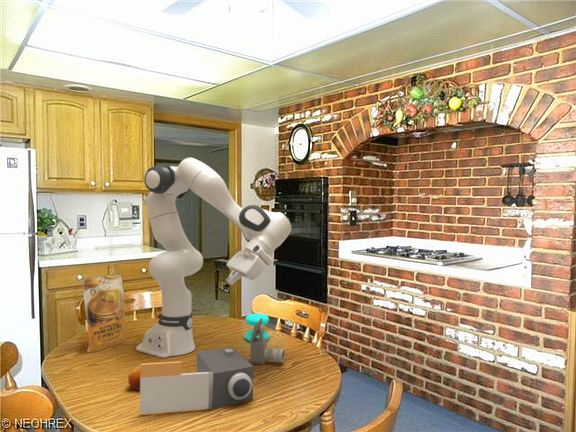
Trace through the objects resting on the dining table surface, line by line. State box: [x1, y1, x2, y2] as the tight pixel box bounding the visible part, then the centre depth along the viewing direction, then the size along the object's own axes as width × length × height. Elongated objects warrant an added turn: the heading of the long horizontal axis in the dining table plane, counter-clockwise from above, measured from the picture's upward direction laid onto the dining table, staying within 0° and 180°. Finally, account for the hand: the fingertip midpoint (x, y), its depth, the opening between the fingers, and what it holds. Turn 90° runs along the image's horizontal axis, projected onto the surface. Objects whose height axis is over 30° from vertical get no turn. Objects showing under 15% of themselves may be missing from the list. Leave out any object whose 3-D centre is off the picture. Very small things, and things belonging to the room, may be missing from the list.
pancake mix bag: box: [81, 273, 126, 353], centre depth 158 cm, size 7×19×28 cm, turn 149°
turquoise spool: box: [244, 313, 270, 342], centre depth 170 cm, size 10×10×10 cm
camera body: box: [196, 346, 254, 409], centre depth 121 cm, size 20×12×11 cm, turn 27°
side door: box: [139, 360, 213, 415], centre depth 109 cm, size 19×1×14 cm, turn 102°
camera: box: [249, 318, 286, 365], centre depth 145 cm, size 9×12×15 cm
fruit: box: [127, 365, 140, 391], centre depth 124 cm, size 8×8×8 cm
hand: (228, 282), depth 132 cm, fingers closed
